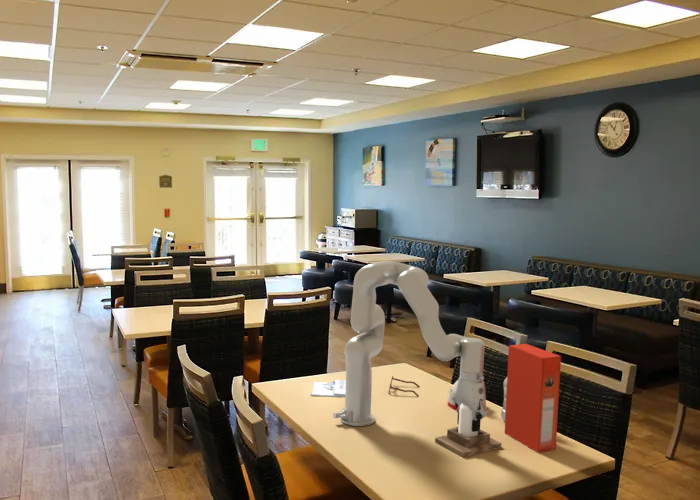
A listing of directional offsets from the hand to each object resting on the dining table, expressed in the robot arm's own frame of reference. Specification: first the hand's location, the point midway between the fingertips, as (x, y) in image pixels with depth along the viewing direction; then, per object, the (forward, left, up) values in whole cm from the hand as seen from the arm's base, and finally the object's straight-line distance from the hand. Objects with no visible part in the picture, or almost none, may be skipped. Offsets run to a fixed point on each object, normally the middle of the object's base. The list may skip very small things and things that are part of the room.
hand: (468, 426), depth 207 cm
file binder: (+21, -8, -6) cm, 23 cm away
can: (0, 0, -4) cm, 4 cm away
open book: (-10, +70, -7) cm, 71 cm away
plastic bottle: (+29, +8, -6) cm, 31 cm away
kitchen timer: (+26, +29, -7) cm, 39 cm away
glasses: (+16, +55, -7) cm, 58 cm away
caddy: (0, 0, -6) cm, 6 cm away
